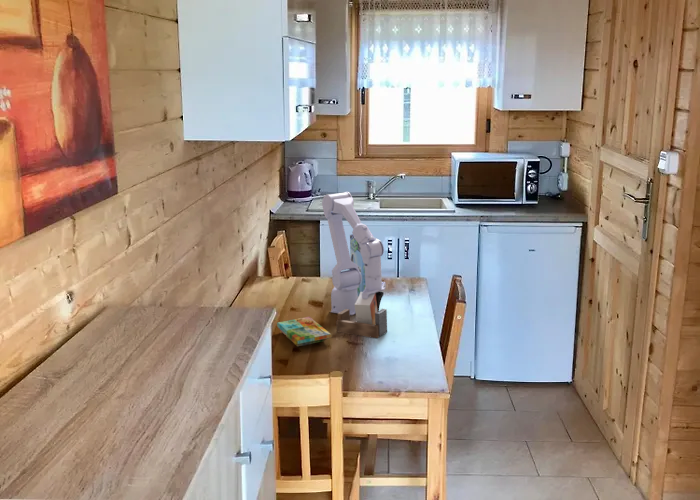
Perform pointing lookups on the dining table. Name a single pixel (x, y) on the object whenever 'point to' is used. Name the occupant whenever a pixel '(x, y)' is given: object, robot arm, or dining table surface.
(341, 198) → the robot arm
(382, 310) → the bookend
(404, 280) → the dining table surface
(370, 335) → the walnut shelf corner
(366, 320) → the small box
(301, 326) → the puzzle game
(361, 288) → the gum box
